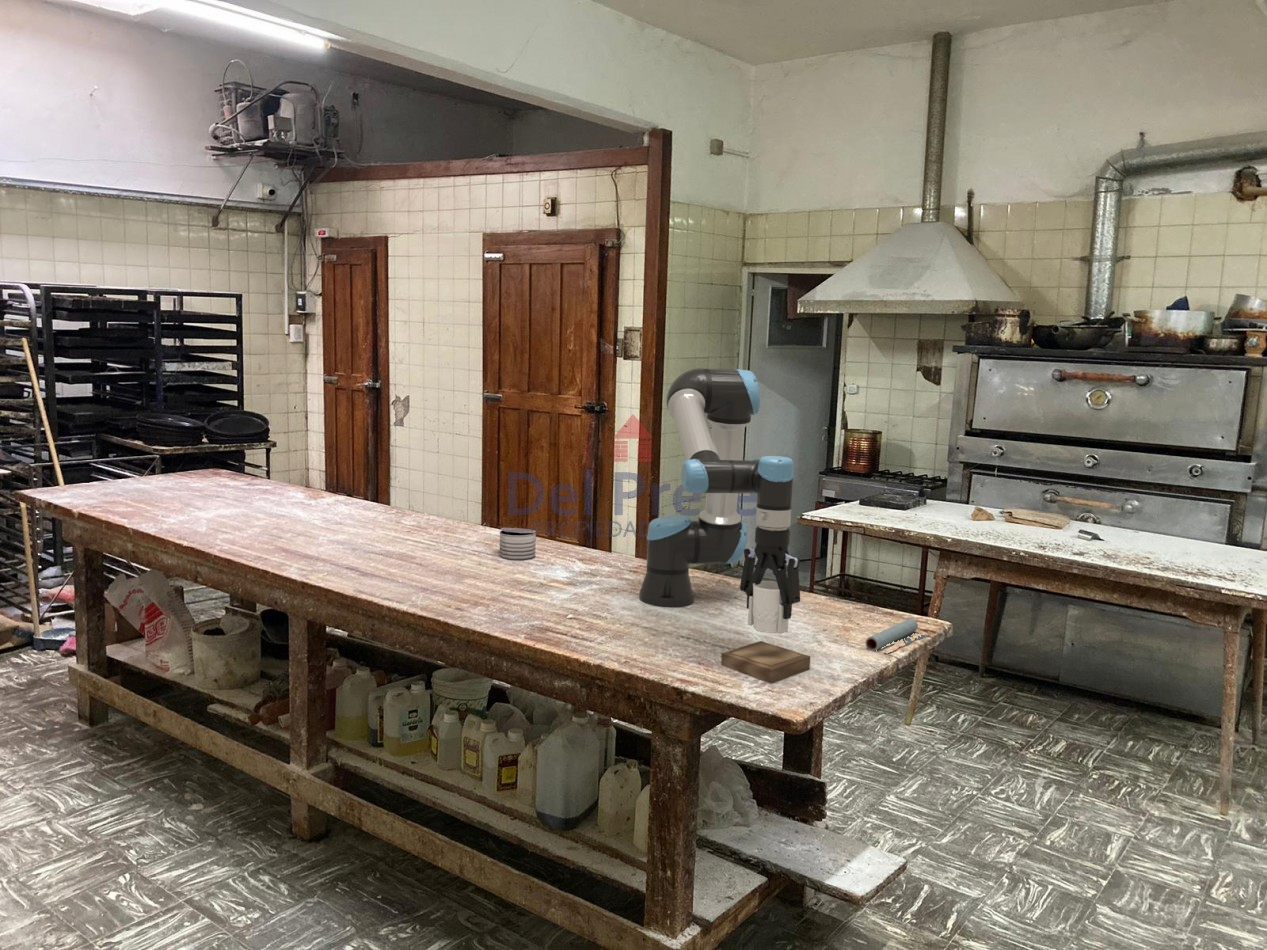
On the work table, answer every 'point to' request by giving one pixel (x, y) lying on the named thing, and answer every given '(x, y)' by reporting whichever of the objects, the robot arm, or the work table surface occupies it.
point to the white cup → (766, 606)
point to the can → (517, 544)
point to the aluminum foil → (893, 635)
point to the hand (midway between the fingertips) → (767, 627)
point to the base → (766, 661)
